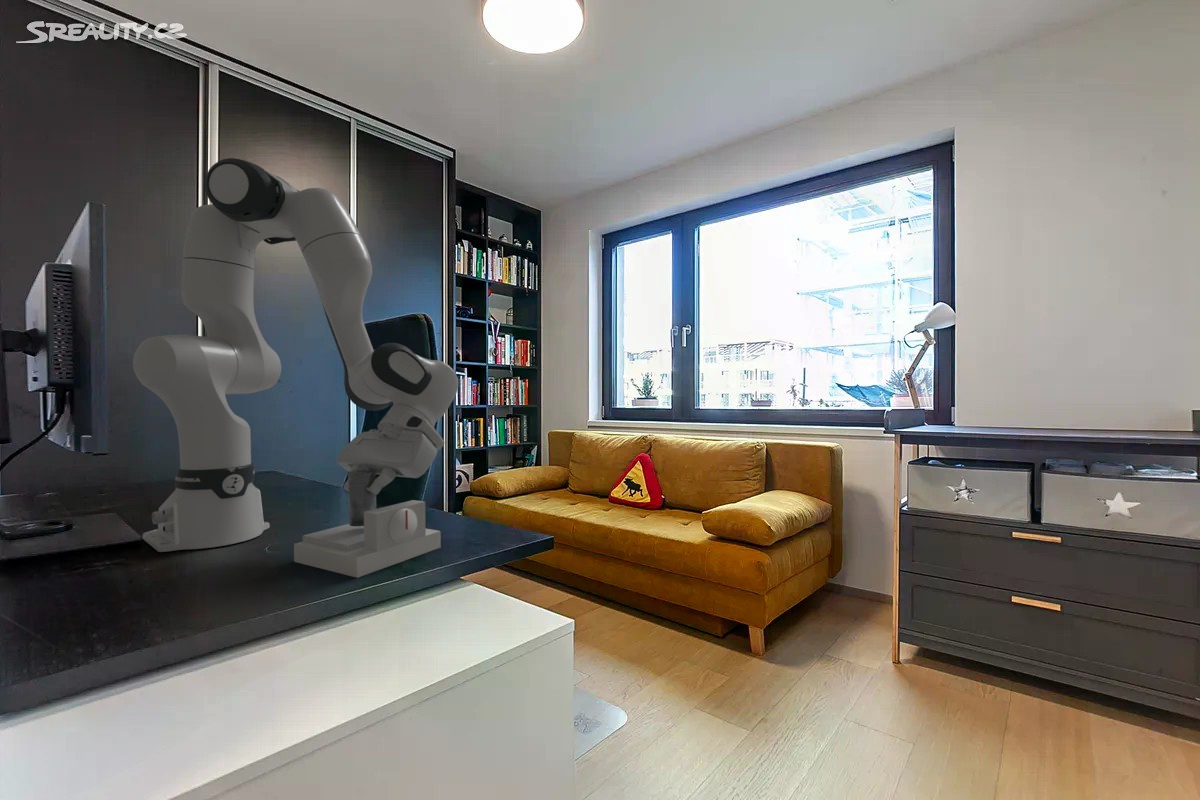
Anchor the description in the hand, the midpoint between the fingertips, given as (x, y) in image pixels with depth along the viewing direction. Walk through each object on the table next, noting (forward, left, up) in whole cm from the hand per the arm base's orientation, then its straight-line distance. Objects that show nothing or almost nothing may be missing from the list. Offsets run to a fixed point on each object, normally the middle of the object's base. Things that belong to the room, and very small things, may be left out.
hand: (359, 491), depth 90 cm
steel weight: (0, +1, -6) cm, 6 cm away
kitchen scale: (+2, +1, -11) cm, 11 cm away
